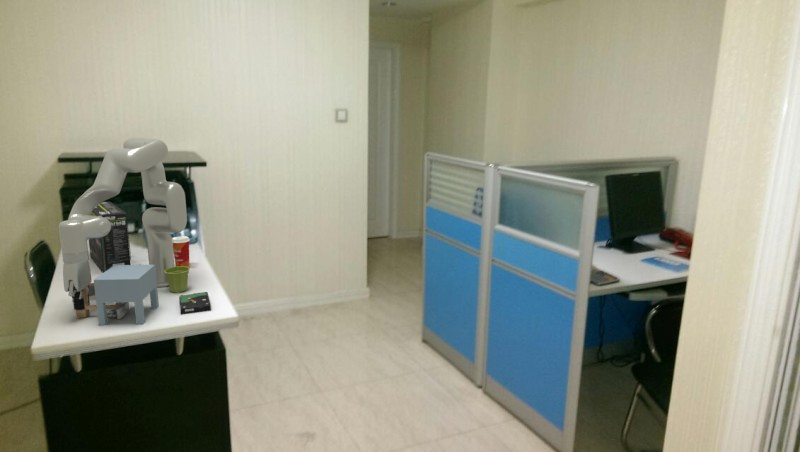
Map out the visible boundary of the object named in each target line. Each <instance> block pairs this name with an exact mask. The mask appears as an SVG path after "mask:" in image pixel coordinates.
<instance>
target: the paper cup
mask: <svg viewBox="0 0 800 452" xmlns="http://www.w3.org/2000/svg"><path fill="white" fill-rule="evenodd" d="M172 241H173V253H174V265H175V267H177V266H185V267H189V268H190V241H191V240H190V237H188V236H186V235H180V236H175V237H172Z"/></svg>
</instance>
